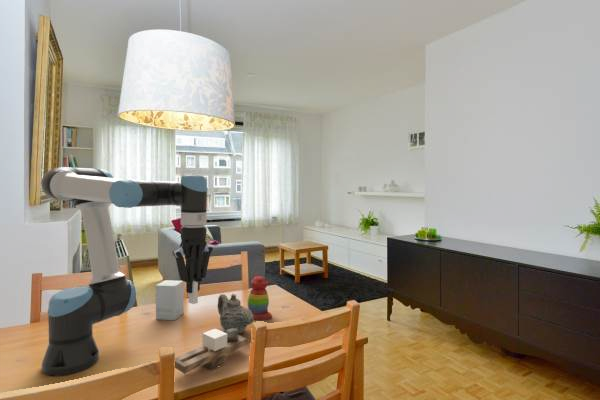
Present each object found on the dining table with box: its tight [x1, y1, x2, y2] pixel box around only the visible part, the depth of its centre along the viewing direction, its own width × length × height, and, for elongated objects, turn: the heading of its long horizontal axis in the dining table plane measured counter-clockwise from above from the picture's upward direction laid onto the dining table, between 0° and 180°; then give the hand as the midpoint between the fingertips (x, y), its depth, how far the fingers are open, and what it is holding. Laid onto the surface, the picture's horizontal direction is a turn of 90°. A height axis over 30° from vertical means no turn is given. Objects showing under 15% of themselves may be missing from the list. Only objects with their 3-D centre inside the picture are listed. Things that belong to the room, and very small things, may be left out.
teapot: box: [217, 293, 255, 335], centre depth 136 cm, size 21×12×15 cm, turn 48°
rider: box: [202, 328, 227, 351], centre depth 111 cm, size 5×6×6 cm
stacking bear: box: [247, 275, 273, 321], centre depth 152 cm, size 11×10×18 cm
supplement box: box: [155, 279, 185, 321], centre depth 150 cm, size 9×9×15 cm
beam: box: [174, 328, 248, 375], centre depth 111 cm, size 24×7×8 cm, turn 141°
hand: (192, 302), depth 105 cm, fingers closed
